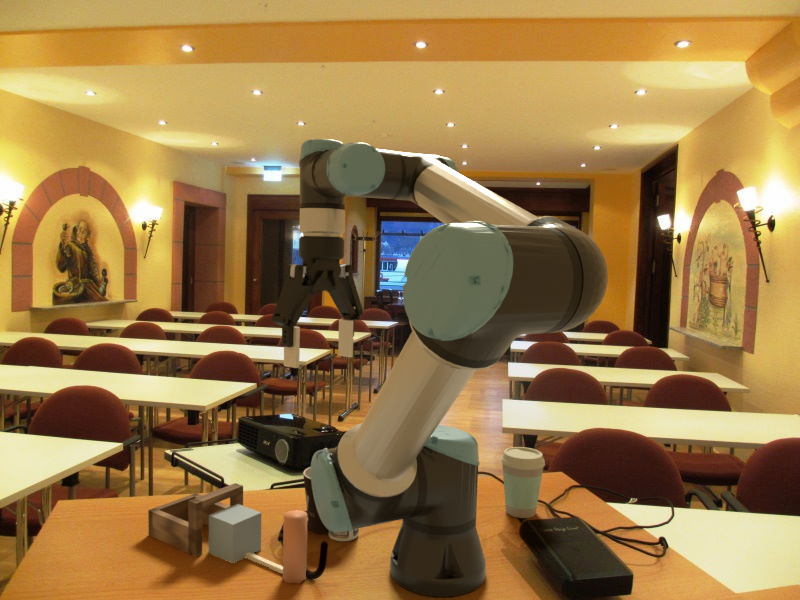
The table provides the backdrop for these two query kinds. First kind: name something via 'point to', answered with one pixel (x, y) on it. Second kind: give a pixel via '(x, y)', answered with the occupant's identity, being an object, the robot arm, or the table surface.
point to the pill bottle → (344, 535)
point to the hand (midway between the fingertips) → (319, 361)
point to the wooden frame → (190, 517)
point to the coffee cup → (522, 480)
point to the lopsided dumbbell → (259, 539)
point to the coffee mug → (312, 506)
